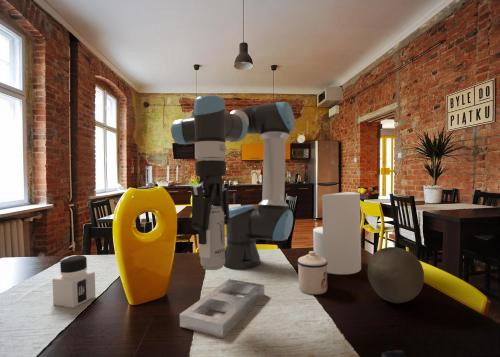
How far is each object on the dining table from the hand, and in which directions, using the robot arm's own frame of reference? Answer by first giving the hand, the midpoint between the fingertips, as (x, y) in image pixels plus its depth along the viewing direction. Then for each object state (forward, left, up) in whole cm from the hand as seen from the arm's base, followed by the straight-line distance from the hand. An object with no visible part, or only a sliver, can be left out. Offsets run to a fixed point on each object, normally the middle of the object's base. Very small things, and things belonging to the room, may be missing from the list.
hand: (212, 253), depth 70 cm
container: (+7, -44, -17) cm, 48 cm away
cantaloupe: (-27, +41, -17) cm, 52 cm away
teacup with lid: (-29, +18, -17) cm, 38 cm away
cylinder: (-52, +22, -17) cm, 59 cm away
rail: (-6, 0, -17) cm, 18 cm away
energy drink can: (0, 0, -4) cm, 4 cm away
